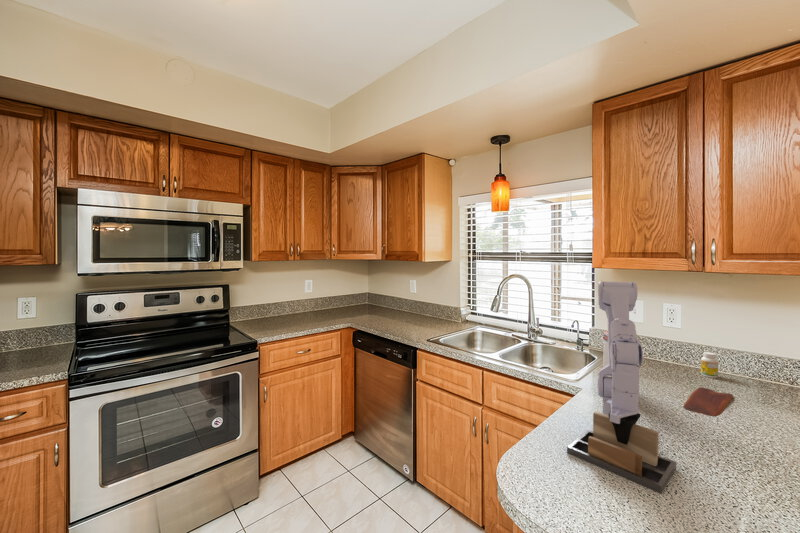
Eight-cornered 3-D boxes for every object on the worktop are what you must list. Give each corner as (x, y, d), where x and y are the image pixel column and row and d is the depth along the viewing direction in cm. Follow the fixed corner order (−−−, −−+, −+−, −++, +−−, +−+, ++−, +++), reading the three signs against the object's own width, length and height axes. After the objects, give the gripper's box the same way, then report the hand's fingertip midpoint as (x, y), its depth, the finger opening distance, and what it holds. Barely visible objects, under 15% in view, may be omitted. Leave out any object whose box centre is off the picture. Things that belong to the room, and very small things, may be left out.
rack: (587, 437, 98) (587, 429, 98) (675, 471, 83) (676, 462, 83) (566, 455, 90) (567, 446, 89) (661, 496, 74) (661, 486, 74)
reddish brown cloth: (698, 389, 133) (698, 385, 132) (734, 397, 125) (734, 393, 125) (677, 408, 116) (678, 404, 116) (717, 420, 108) (717, 415, 108)
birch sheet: (595, 440, 94) (595, 411, 94) (657, 464, 83) (658, 431, 83) (592, 442, 93) (593, 413, 93) (655, 466, 82) (656, 433, 82)
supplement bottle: (719, 379, 141) (720, 355, 141) (702, 376, 144) (703, 354, 143) (715, 374, 146) (716, 352, 145) (699, 372, 148) (699, 350, 148)
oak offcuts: (592, 453, 89) (593, 432, 89) (643, 474, 81) (643, 451, 80) (587, 458, 87) (587, 437, 87) (638, 480, 79) (639, 457, 78)
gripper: (617, 377, 95) (616, 425, 96) (596, 391, 86) (595, 445, 86) (647, 385, 90) (646, 435, 90) (629, 401, 80) (628, 457, 81)
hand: (623, 441), depth 88 cm, fingers closed on birch sheet, 1 cm apart
